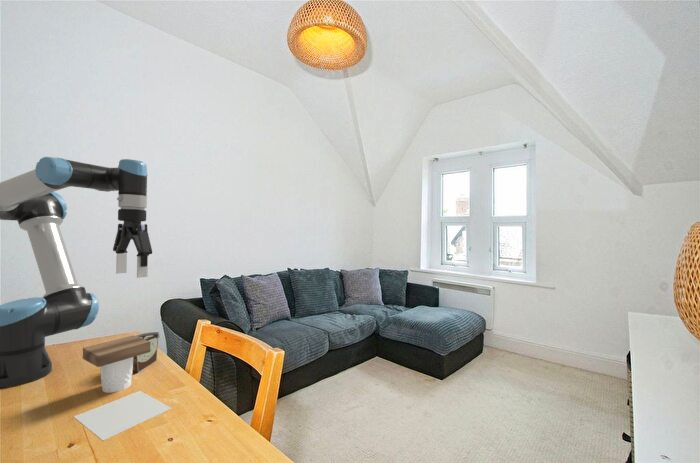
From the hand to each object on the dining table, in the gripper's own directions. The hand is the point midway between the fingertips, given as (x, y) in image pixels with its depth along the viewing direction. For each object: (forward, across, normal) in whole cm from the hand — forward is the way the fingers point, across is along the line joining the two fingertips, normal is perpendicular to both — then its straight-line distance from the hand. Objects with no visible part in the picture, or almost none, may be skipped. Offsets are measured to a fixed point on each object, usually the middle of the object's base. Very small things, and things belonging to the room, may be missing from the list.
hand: (131, 275), depth 102 cm
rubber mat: (+32, +24, -12) cm, 41 cm away
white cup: (+32, +8, -7) cm, 34 cm away
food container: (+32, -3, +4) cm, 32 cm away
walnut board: (+22, +8, -7) cm, 24 cm away
